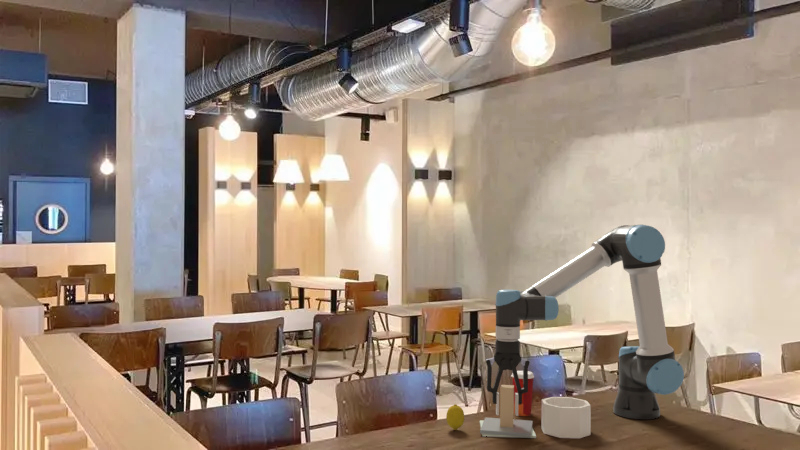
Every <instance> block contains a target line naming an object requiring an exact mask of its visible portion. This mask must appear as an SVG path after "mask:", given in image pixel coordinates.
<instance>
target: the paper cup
mask: <svg viewBox="0 0 800 450" xmlns="http://www.w3.org/2000/svg"><path fill="white" fill-rule="evenodd" d="M517 374H518V378H519V382H520V386H521V389H522V388H523V370H517ZM510 377H512V385H514V415H515V393H518V391H517V387H516V383H515V380H514V376H513V372H512V373H511V375H510ZM534 378H535V375H534V373H533V372H532V371H529V370H528V392H527V393H523V394H522V404H521V405H518V416H517V417H519V416H520V417H530V416H531V414H532V405H533V388H534Z"/></svg>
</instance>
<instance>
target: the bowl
mask: <svg viewBox="0 0 800 450" xmlns="http://www.w3.org/2000/svg"><path fill="white" fill-rule="evenodd" d="M591 406H592V405H591V404H590V403H589V402H588V400H585V399H580V398H576V397H572V396H569V397H568V396H550V397H545V398H542V399H541V412H540V413H541V414H540V415H541V421H540V422H541V425H540V426H541V428H540V429H541V431H542V432H543V434H545V435H548V436H552V437H555V438H559V439H582V438H584V437H585V438H586V437H588V436H591V434H592V433H591V432H592V430H591V429H592V428H591V424H592V423H591V421H592V420H591V419H592V415H591V413H592V412H591V411H592V410H591V409H592V407H591Z"/></svg>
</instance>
